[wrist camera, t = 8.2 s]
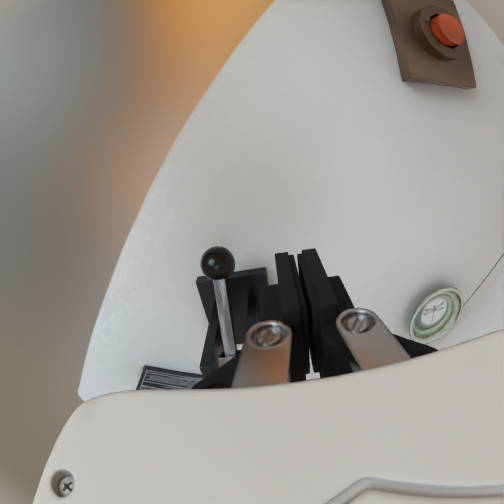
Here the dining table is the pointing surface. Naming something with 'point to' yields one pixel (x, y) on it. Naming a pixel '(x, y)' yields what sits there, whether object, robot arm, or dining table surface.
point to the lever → (222, 296)
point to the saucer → (436, 315)
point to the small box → (166, 379)
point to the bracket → (242, 307)
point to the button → (447, 30)
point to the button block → (427, 44)
